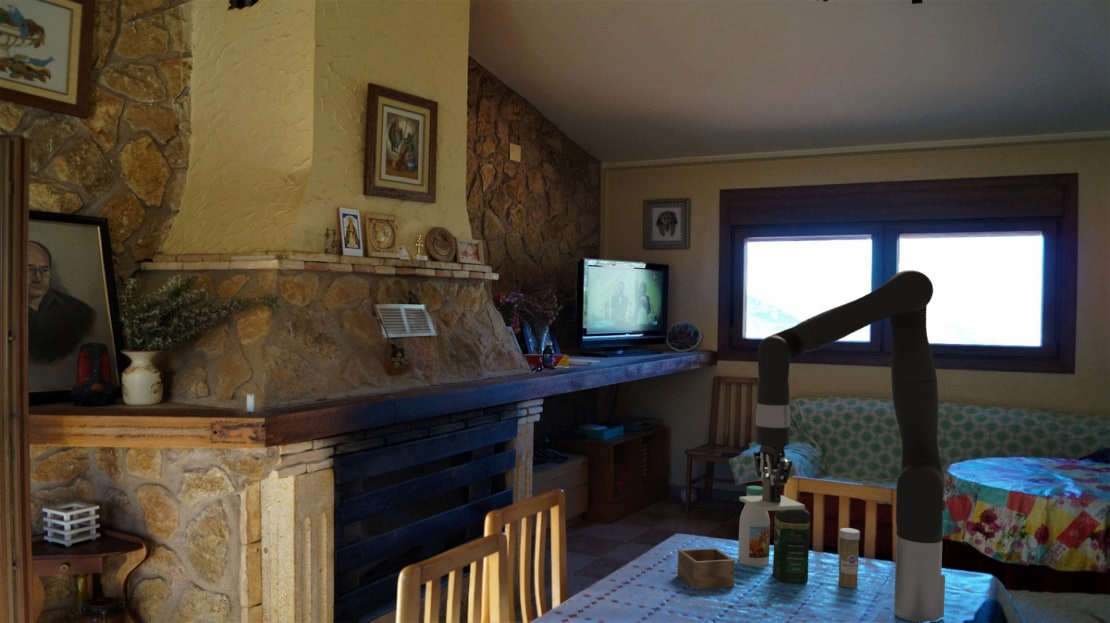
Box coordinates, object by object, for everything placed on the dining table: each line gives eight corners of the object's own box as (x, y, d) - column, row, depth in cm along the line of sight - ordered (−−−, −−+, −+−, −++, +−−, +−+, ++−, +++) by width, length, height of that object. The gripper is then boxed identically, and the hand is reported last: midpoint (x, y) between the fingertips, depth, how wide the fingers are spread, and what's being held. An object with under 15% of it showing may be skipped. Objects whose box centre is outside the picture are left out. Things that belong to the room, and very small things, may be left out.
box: (715, 576, 211) (716, 548, 211) (733, 590, 202) (734, 560, 202) (677, 578, 209) (678, 550, 209) (694, 592, 199) (695, 562, 199)
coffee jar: (811, 587, 205) (814, 509, 205) (777, 586, 205) (780, 508, 205) (801, 574, 214) (804, 500, 214) (769, 573, 215) (772, 499, 215)
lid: (780, 498, 202) (780, 473, 202) (804, 508, 192) (805, 482, 192) (739, 500, 200) (739, 475, 199) (761, 511, 189) (762, 484, 189)
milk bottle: (736, 567, 219) (739, 488, 219) (739, 558, 226) (741, 482, 226) (768, 570, 217) (770, 491, 217) (769, 562, 224) (772, 485, 224)
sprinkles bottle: (845, 589, 204) (847, 532, 204) (834, 583, 209) (835, 527, 208) (862, 587, 206) (863, 531, 205) (850, 581, 210) (851, 526, 210)
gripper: (804, 427, 190) (802, 506, 190) (772, 419, 203) (771, 492, 204) (773, 428, 188) (772, 507, 188) (743, 420, 201) (742, 493, 202)
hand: (771, 499), depth 196 cm, fingers closed on lid, 3 cm apart
